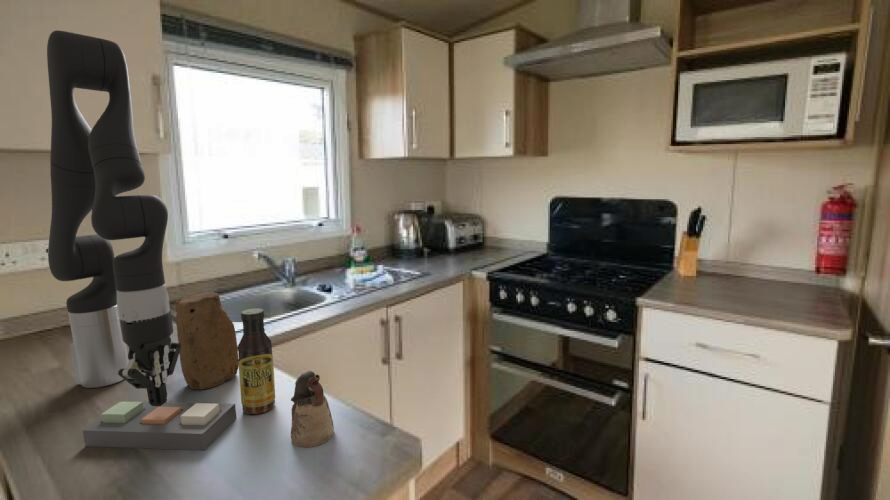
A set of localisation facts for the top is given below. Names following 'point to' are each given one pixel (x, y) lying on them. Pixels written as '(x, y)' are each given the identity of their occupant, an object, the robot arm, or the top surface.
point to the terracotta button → (161, 415)
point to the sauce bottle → (255, 364)
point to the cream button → (200, 414)
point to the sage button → (122, 412)
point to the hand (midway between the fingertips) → (158, 404)
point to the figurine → (310, 412)
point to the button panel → (160, 430)
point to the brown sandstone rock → (205, 341)
